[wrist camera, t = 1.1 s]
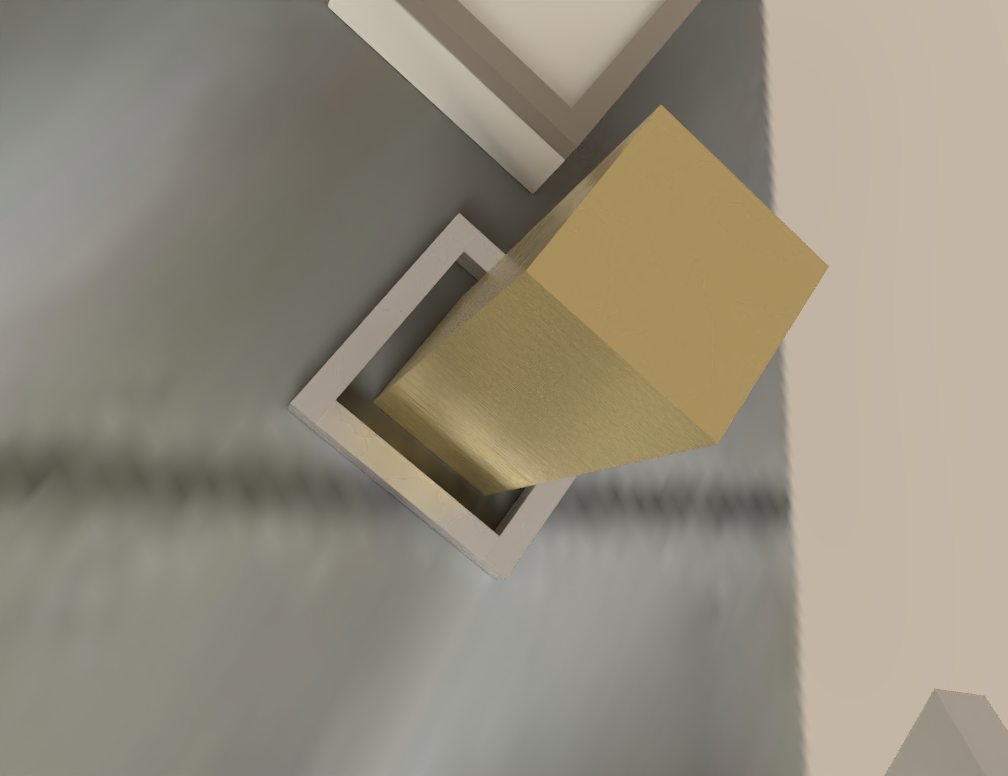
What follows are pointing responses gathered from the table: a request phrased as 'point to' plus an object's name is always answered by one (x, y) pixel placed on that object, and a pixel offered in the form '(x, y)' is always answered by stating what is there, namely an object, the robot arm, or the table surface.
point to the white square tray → (519, 65)
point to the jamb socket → (382, 460)
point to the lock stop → (611, 323)
